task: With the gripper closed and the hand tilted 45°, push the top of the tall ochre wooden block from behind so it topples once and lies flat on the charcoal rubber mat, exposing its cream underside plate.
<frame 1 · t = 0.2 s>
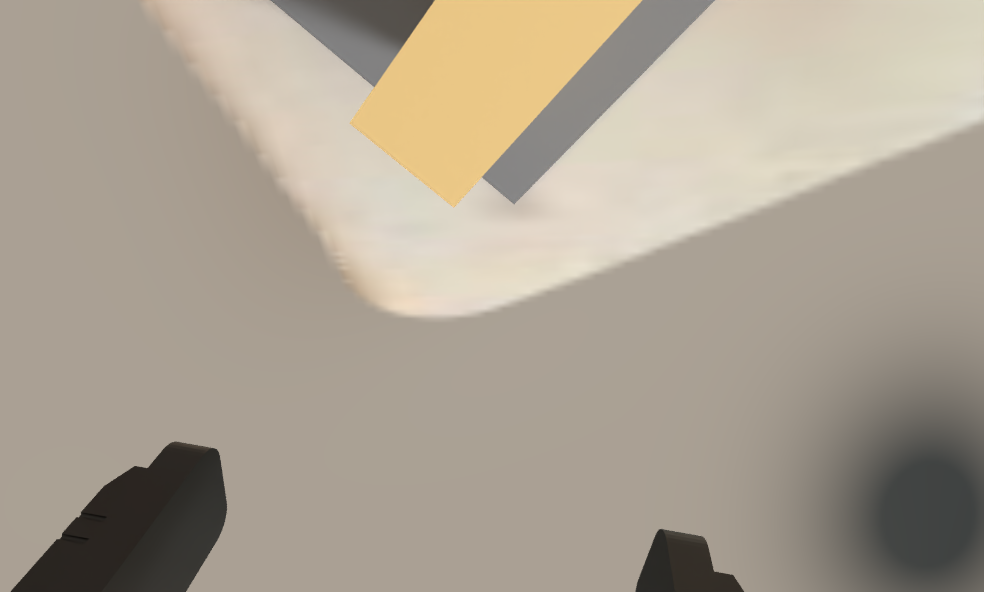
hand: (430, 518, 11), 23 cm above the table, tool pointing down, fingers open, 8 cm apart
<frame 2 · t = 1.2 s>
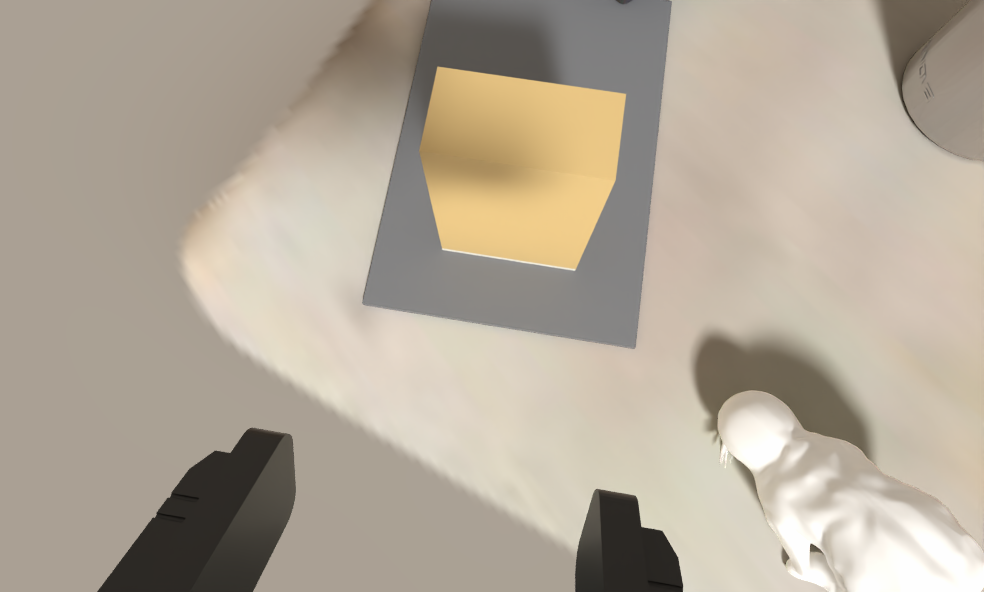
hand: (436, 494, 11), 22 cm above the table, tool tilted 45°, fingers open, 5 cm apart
ochre block: (513, 229, 36), resting on charcoal mat
white figurine: (784, 488, 33), on the table
charcoal mat: (527, 144, 38), on the table
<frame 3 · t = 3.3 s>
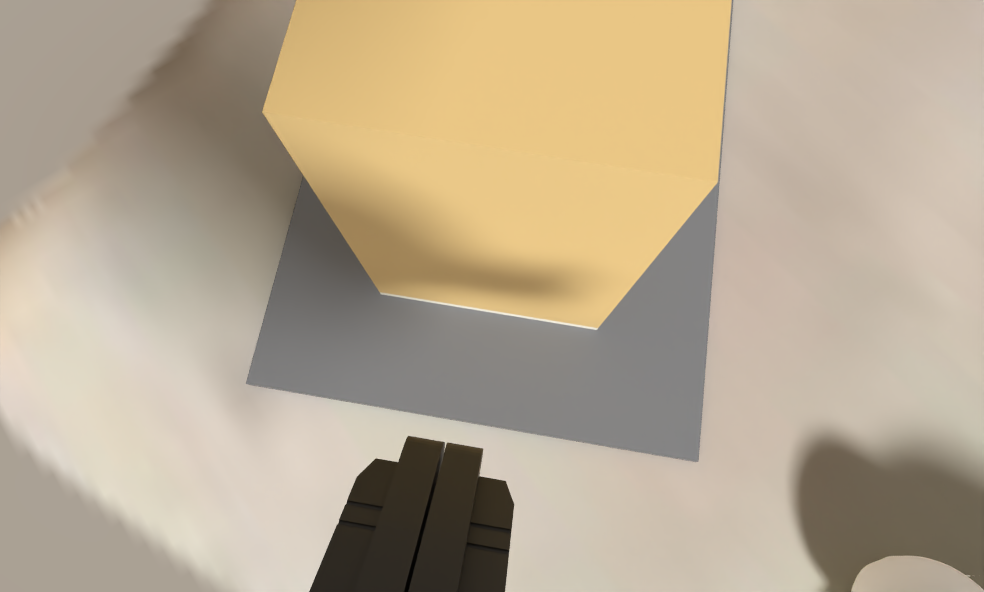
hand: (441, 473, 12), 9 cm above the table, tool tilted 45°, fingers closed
ochre block: (497, 260, 23), resting on charcoal mat
charcoal mat: (521, 125, 24), on the table
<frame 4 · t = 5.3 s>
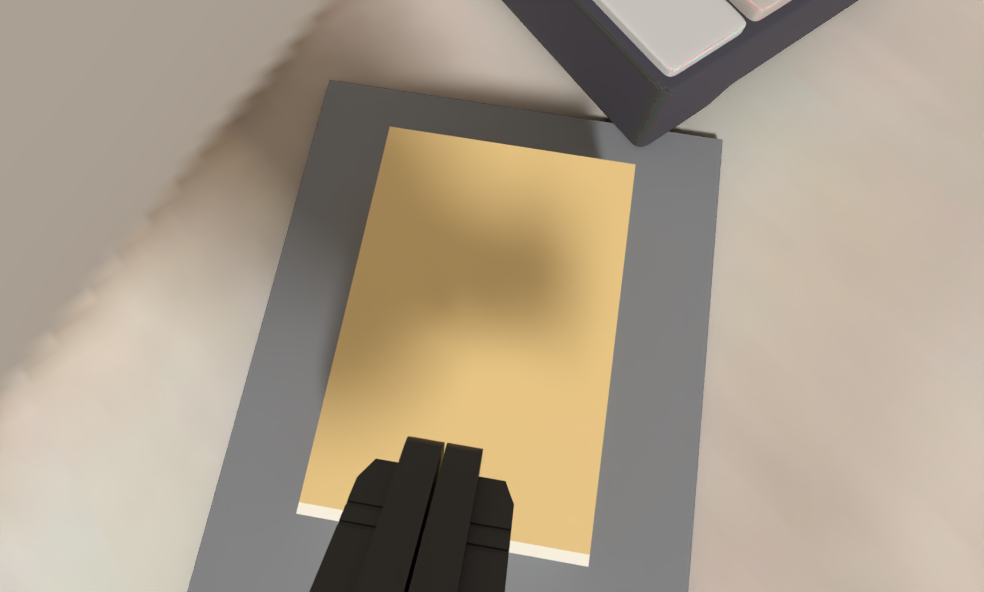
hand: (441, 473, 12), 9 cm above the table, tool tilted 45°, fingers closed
ochre block: (445, 531, 18), point 2 cm above the table, tilted 90°, touching charcoal mat
charcoal mat: (471, 408, 21), on the table
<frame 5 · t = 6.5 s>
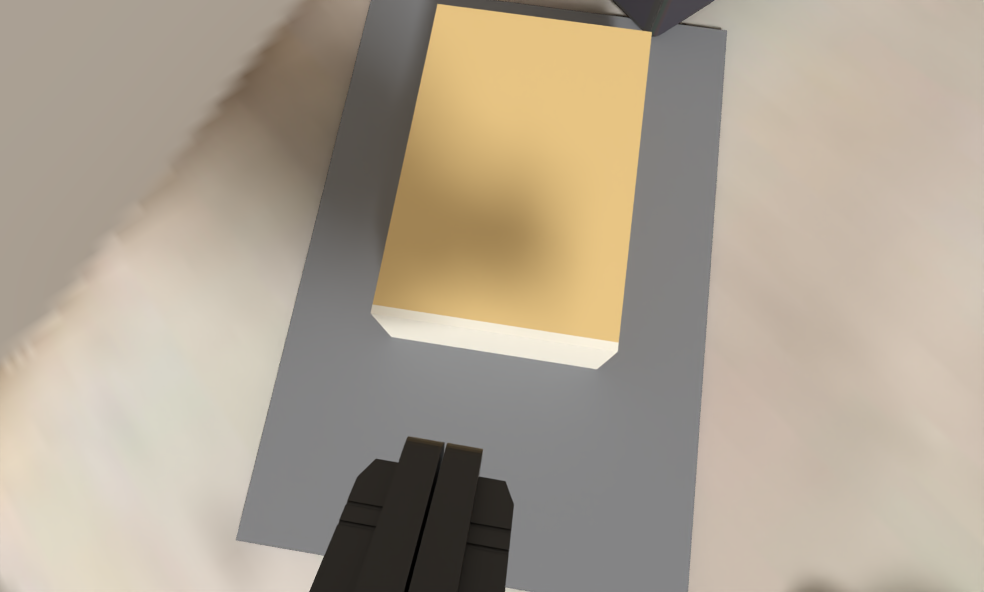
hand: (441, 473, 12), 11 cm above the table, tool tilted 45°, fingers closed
ochre block: (493, 343, 21), point 2 cm above the table, tilted 90°, touching charcoal mat
charcoal mat: (508, 260, 24), on the table
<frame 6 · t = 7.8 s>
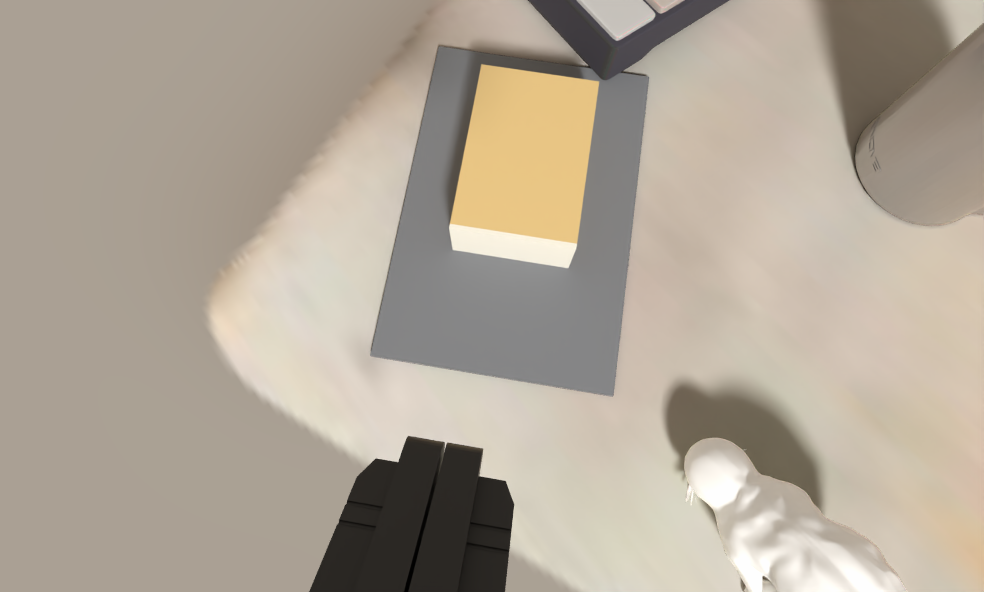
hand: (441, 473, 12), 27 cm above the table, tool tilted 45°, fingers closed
ochre block: (511, 249, 39), point 2 cm above the table, tilted 90°, touching charcoal mat
white figurine: (744, 522, 37), on the table
charcoal mat: (518, 209, 43), on the table
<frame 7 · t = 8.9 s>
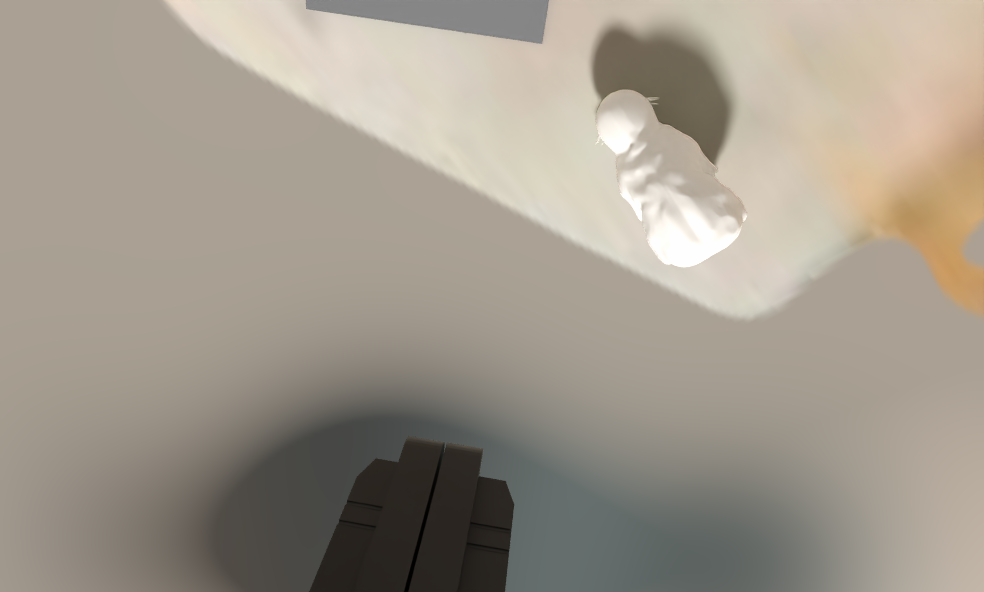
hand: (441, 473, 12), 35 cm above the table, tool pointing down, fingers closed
white figurine: (652, 155, 43), on the table
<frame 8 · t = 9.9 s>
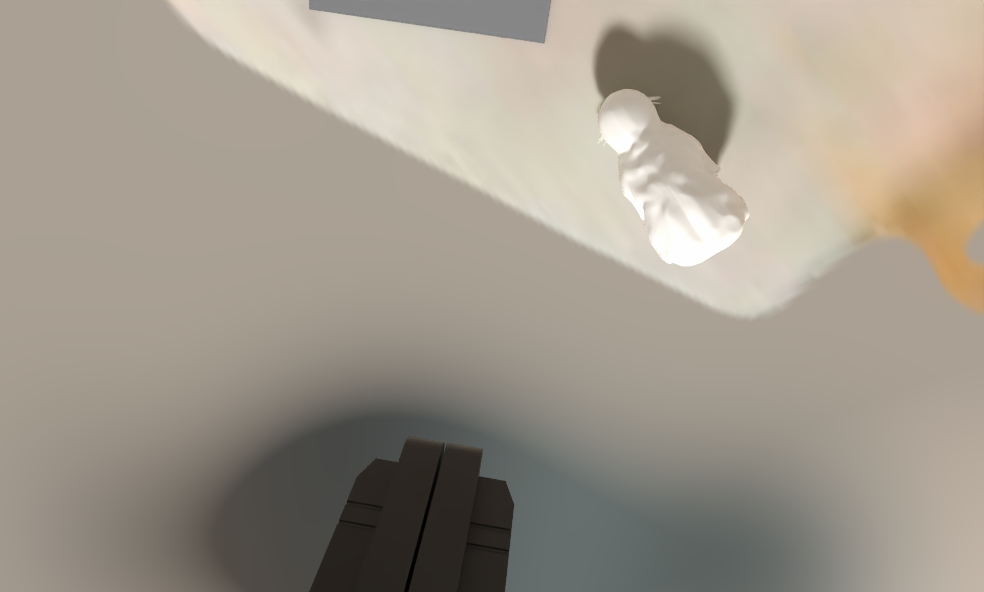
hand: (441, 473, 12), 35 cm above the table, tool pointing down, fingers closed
white figurine: (654, 154, 43), on the table
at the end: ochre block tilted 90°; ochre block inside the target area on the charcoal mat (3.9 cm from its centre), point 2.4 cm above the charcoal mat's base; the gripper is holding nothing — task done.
